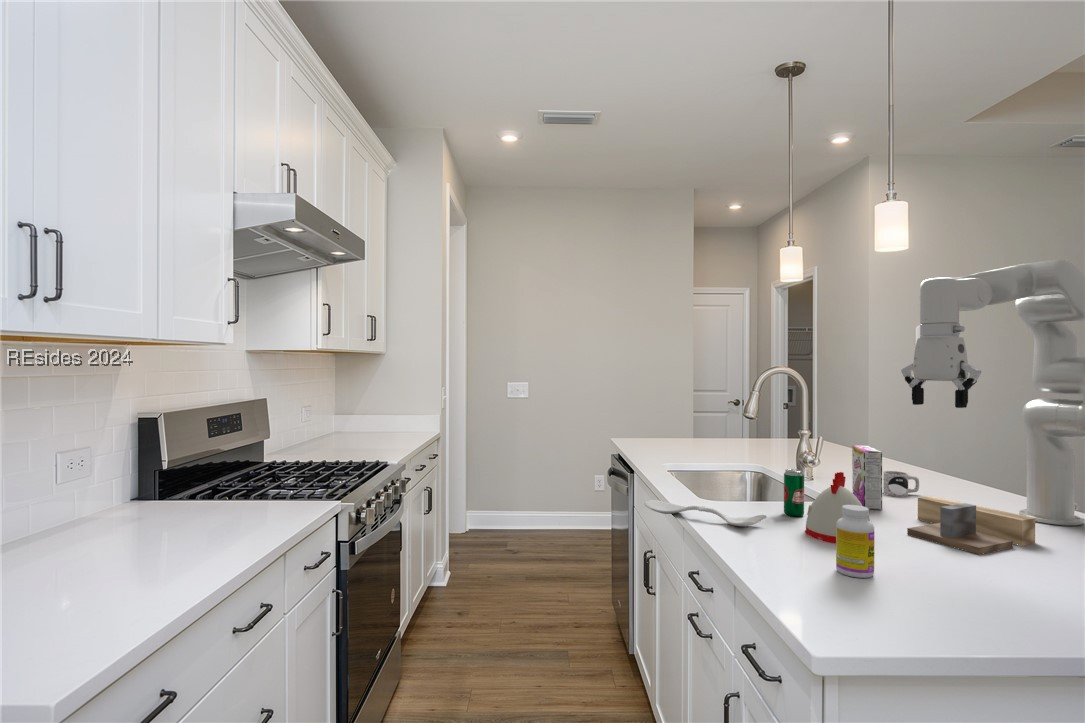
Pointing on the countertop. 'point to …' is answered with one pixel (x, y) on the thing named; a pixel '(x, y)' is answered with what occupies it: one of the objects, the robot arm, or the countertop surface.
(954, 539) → the walnut stand
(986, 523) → the oak beam
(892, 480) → the mug
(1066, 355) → the robot arm
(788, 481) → the soda can
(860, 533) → the supplement bottle
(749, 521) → the spoon
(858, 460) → the candy bar box
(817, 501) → the kitchen timer
